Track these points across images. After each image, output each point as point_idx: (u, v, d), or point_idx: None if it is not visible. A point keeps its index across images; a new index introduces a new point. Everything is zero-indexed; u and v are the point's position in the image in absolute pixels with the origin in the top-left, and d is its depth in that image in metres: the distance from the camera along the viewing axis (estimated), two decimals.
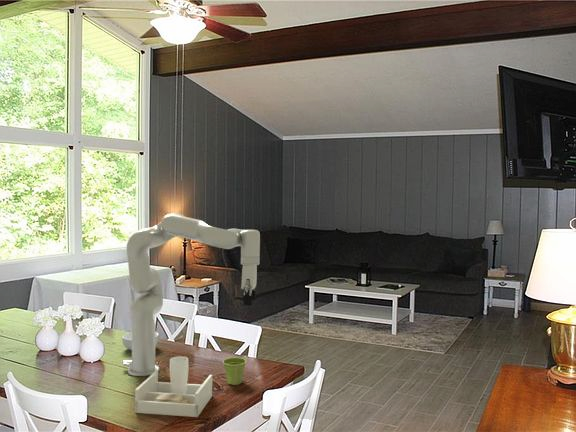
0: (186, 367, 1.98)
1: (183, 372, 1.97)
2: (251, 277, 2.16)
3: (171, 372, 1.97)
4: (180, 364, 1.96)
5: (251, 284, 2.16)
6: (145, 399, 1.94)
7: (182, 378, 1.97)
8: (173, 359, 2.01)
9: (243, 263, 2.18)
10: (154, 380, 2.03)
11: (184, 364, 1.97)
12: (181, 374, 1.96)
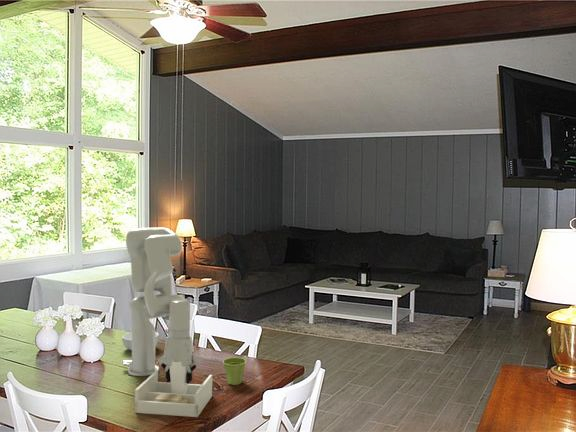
0: None
1: (183, 372, 1.97)
2: None
3: (171, 372, 1.97)
4: (180, 364, 1.96)
5: None
6: (145, 399, 1.94)
7: (182, 378, 1.97)
8: None
9: (185, 337, 1.96)
10: (154, 380, 2.03)
11: None
12: (181, 374, 1.96)
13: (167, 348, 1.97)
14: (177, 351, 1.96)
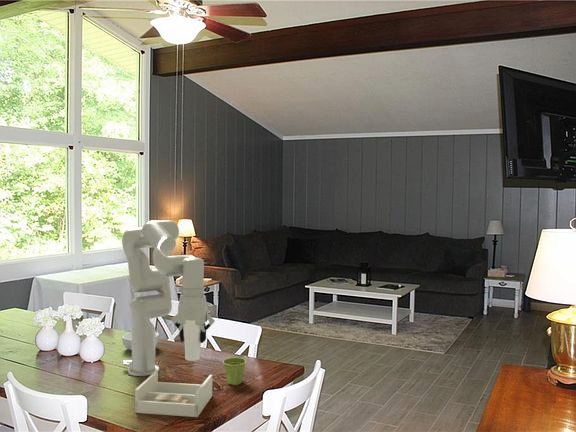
0: None
1: (197, 331, 1.95)
2: None
3: (185, 331, 1.95)
4: (194, 323, 1.94)
5: None
6: (145, 399, 1.94)
7: (196, 337, 1.95)
8: None
9: (199, 296, 1.94)
10: (154, 380, 2.03)
11: None
12: (195, 333, 1.95)
13: (181, 307, 1.95)
14: (191, 310, 1.94)
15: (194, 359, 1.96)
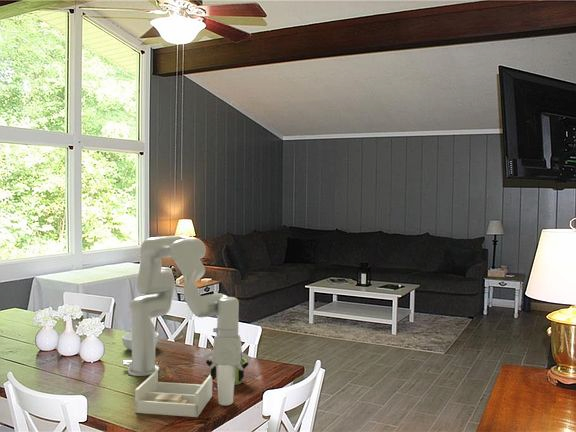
0: (234, 370, 1.95)
1: (231, 375, 1.94)
2: (241, 348, 1.97)
3: (219, 375, 1.94)
4: (228, 368, 1.93)
5: None
6: (145, 399, 1.94)
7: (230, 381, 1.94)
8: None
9: (234, 336, 1.93)
10: (154, 380, 2.03)
11: (232, 368, 1.94)
12: (229, 377, 1.94)
13: (216, 347, 1.94)
14: (226, 350, 1.93)
15: (228, 403, 1.95)
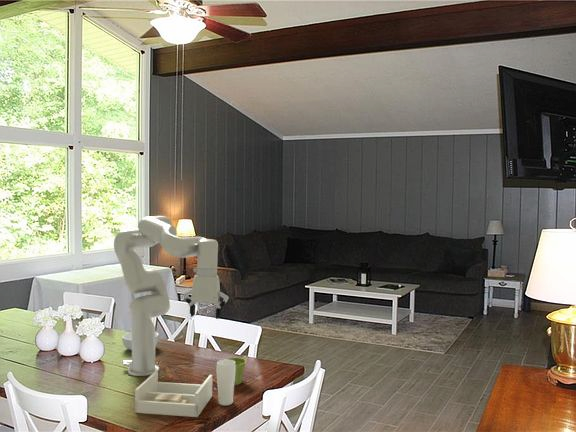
0: (233, 370, 1.95)
1: (231, 375, 1.94)
2: (219, 288, 2.07)
3: (219, 375, 1.94)
4: (228, 368, 1.93)
5: None
6: (145, 399, 1.94)
7: (230, 381, 1.94)
8: (220, 362, 1.98)
9: (213, 276, 2.04)
10: (154, 380, 2.03)
11: (232, 368, 1.94)
12: (229, 377, 1.94)
13: (195, 285, 2.04)
14: (204, 289, 2.04)
15: (228, 403, 1.95)
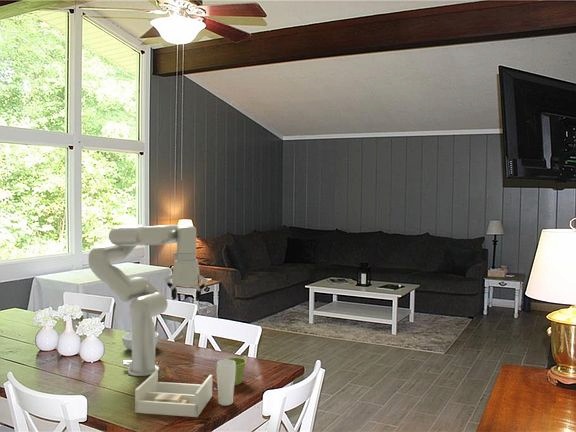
0: (234, 370, 1.95)
1: (231, 375, 1.94)
2: None
3: (219, 375, 1.94)
4: (228, 368, 1.93)
5: (199, 278, 2.19)
6: (145, 399, 1.94)
7: (230, 381, 1.94)
8: (220, 362, 1.98)
9: (192, 260, 2.15)
10: (154, 380, 2.03)
11: (232, 368, 1.94)
12: (229, 377, 1.94)
13: (175, 270, 2.16)
14: (184, 272, 2.16)
15: (228, 403, 1.95)
